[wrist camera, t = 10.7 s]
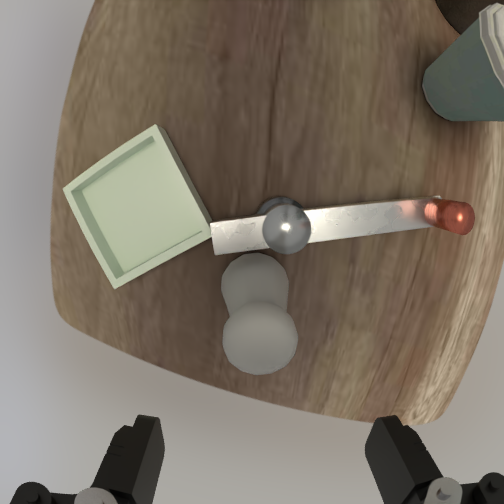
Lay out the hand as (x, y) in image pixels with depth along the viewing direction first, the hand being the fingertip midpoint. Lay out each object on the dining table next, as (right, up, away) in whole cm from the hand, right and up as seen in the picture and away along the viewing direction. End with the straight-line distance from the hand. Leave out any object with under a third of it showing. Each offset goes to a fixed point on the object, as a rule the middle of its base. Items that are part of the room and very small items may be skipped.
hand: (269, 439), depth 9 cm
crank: (+6, +10, +16) cm, 19 cm away
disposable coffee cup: (+20, +24, +15) cm, 35 cm away
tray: (-11, +11, +17) cm, 23 cm away
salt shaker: (0, +4, +19) cm, 20 cm away
